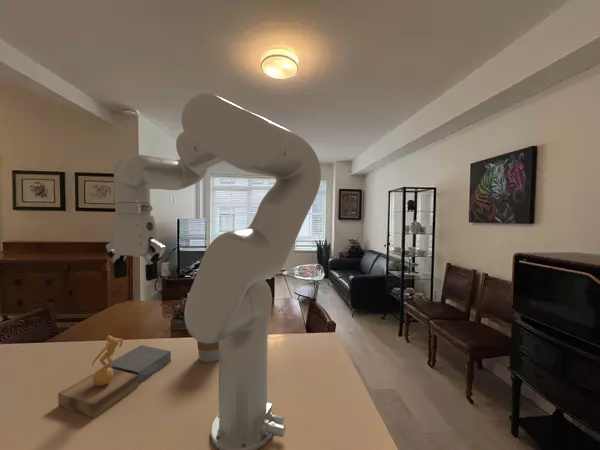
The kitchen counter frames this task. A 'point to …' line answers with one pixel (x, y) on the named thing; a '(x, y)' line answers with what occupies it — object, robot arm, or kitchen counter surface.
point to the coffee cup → (208, 351)
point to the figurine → (105, 373)
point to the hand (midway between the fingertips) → (136, 278)
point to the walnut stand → (97, 393)
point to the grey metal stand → (142, 361)
